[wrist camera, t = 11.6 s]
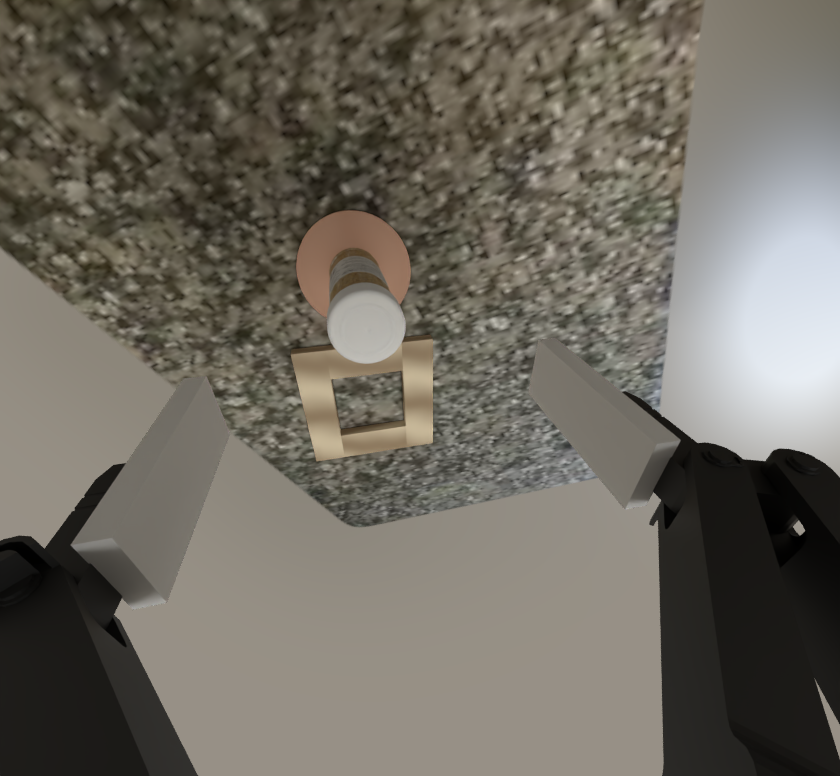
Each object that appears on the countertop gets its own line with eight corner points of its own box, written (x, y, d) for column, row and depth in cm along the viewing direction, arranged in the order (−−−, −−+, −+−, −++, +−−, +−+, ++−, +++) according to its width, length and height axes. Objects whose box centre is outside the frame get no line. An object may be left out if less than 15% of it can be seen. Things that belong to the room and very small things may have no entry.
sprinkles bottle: (366, 306, 33) (384, 377, 22) (320, 283, 31) (313, 348, 20) (389, 262, 31) (421, 314, 20) (342, 235, 29) (348, 276, 18)
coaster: (285, 212, 28) (284, 213, 28) (406, 207, 30) (408, 208, 29) (308, 328, 34) (308, 331, 33) (410, 318, 35) (412, 321, 35)
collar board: (291, 349, 34) (290, 354, 33) (430, 334, 37) (432, 339, 36) (317, 454, 42) (316, 461, 41) (430, 436, 44) (432, 442, 43)
